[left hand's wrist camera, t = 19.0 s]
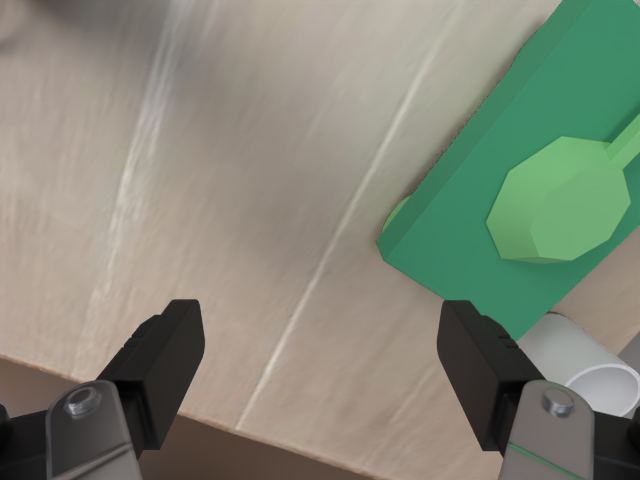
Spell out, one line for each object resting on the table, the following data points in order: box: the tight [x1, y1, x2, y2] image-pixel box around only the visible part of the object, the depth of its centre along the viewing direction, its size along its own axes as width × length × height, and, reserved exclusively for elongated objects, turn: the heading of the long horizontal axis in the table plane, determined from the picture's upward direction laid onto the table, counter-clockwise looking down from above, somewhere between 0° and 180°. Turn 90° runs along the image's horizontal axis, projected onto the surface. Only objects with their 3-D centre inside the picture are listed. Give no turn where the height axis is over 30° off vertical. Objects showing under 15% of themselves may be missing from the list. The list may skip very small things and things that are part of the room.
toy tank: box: [376, 0, 640, 342], centre depth 32 cm, size 18×12×35 cm
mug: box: [516, 313, 640, 417], centre depth 42 cm, size 11×9×10 cm
